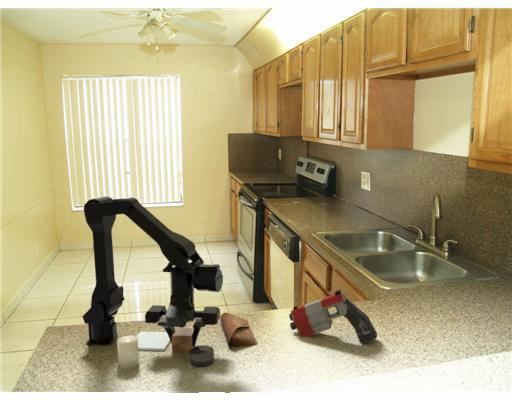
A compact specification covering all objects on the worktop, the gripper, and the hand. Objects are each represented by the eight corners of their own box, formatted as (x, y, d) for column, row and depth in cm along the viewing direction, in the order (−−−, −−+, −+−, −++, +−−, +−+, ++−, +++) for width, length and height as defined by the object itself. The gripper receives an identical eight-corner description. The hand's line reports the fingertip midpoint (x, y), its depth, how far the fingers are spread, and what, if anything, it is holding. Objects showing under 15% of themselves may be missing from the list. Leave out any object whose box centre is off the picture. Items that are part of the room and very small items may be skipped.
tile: (127, 349, 118) (127, 347, 118) (140, 333, 128) (140, 331, 128) (164, 350, 117) (164, 348, 117) (174, 334, 127) (174, 332, 127)
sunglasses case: (260, 345, 120) (247, 325, 118) (238, 360, 119) (225, 341, 118) (247, 319, 137) (236, 302, 136) (228, 332, 137) (216, 315, 135)
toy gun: (307, 354, 131) (286, 307, 131) (377, 331, 124) (354, 282, 124) (304, 362, 126) (282, 313, 126) (376, 339, 119) (352, 288, 119)
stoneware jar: (115, 367, 109) (113, 344, 108) (122, 357, 114) (121, 335, 113) (135, 368, 108) (133, 344, 107) (142, 358, 113) (141, 335, 112)
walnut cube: (172, 354, 116) (171, 335, 115) (177, 345, 120) (176, 327, 120) (191, 354, 115) (190, 336, 114) (195, 346, 120) (195, 328, 119)
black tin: (187, 367, 109) (186, 356, 108) (192, 356, 115) (192, 344, 114) (211, 368, 108) (211, 356, 108) (215, 356, 114) (215, 345, 114)
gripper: (136, 298, 108) (138, 359, 110) (212, 300, 107) (213, 362, 109) (150, 284, 119) (152, 339, 121) (220, 285, 118) (220, 341, 120)
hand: (183, 345), depth 118 cm, fingers open, 5 cm apart
